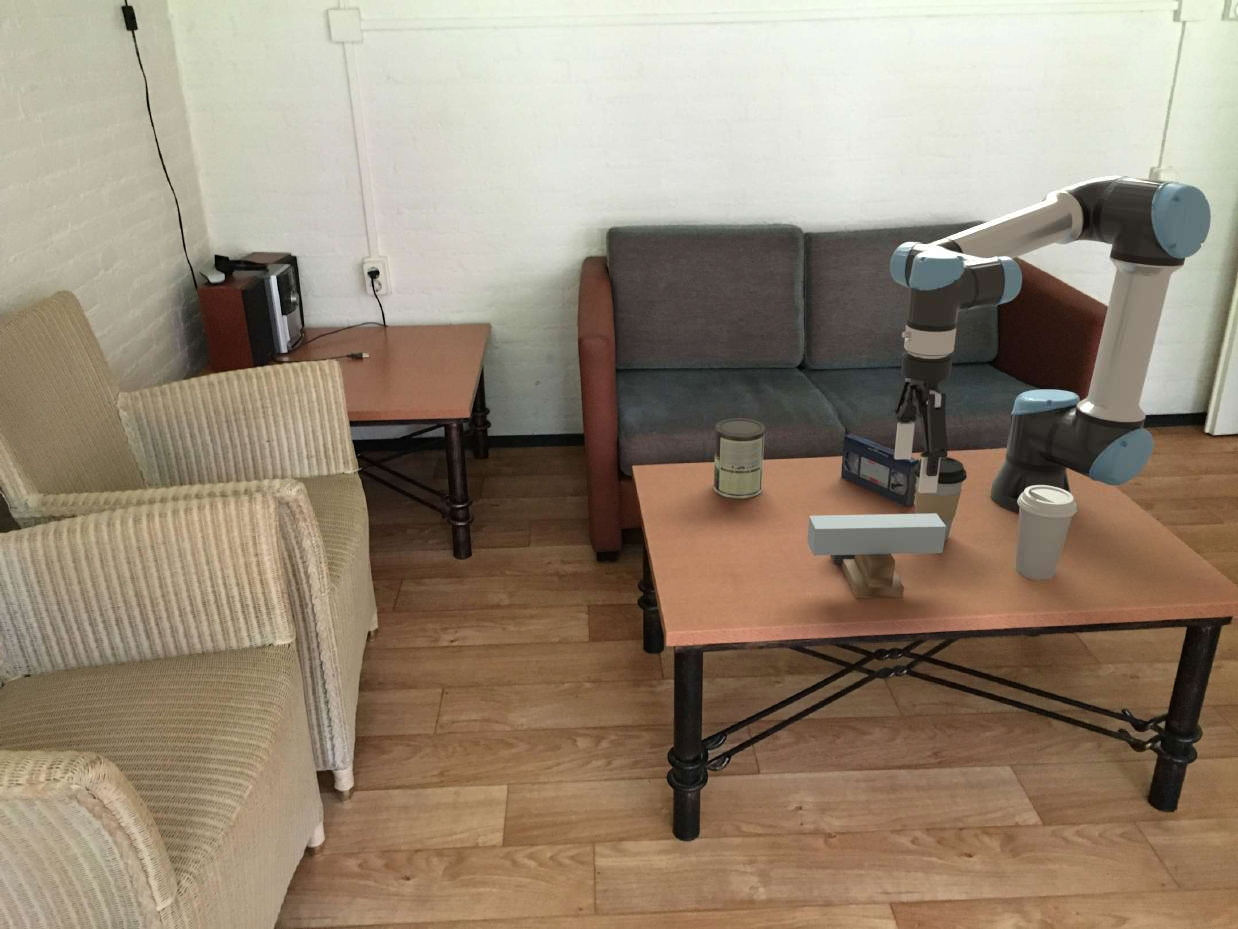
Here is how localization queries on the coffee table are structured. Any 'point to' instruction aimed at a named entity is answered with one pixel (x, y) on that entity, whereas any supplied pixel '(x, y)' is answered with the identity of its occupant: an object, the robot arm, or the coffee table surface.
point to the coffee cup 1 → (942, 492)
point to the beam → (876, 534)
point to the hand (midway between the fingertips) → (914, 474)
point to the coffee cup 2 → (1042, 529)
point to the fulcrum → (873, 576)
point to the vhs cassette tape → (879, 470)
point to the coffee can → (738, 458)
